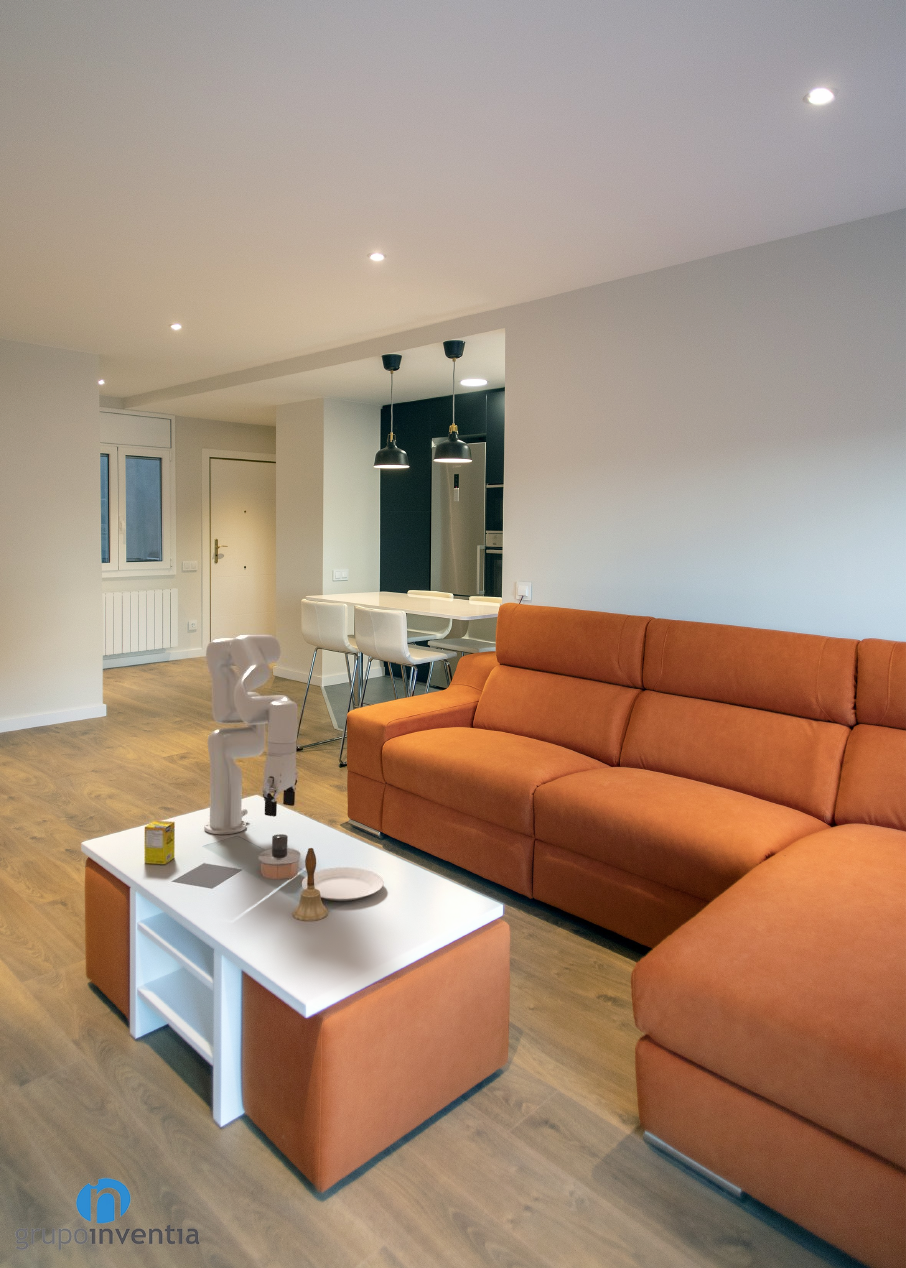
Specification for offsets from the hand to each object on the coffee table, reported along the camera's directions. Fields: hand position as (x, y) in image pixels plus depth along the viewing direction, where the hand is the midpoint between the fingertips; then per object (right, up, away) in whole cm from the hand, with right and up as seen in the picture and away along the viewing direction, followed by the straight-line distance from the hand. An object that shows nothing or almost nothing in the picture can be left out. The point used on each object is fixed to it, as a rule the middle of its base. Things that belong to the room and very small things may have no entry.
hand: (279, 810), depth 214 cm
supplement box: (-34, -16, +6) cm, 38 cm away
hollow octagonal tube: (0, -17, +1) cm, 17 cm away
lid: (0, -13, +1) cm, 13 cm away
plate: (+18, -19, -8) cm, 27 cm away
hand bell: (+12, -20, -23) cm, 33 cm away
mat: (-18, -17, -3) cm, 25 cm away
